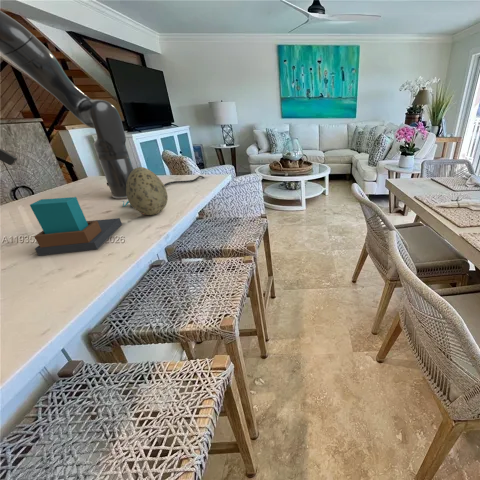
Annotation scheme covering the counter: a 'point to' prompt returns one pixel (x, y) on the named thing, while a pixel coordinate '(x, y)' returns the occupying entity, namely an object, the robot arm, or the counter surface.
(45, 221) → the teal rectangular block
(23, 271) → the counter surface
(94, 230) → the brown tray on base
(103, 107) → the robot arm
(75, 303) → the counter surface
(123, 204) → the dragon figurine
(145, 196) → the decorative egg
